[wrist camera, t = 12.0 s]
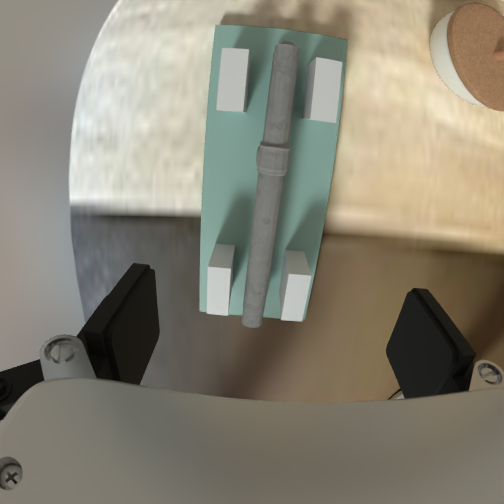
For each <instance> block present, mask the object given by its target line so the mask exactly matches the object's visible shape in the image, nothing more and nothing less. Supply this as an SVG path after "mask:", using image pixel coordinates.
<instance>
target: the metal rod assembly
mask: <svg viewBox="0 0 504 504" xmlns="http://www.w3.org/2000/svg"><path fill="white" fill-rule="evenodd" d="M299 54H300V48H299V47H297V46H296V45H295V44H294V43H293V42H288V41H283V42H281V43H280V44H276V45H275V50H274V53H273V61H272V69H271V77H270V85H269V93H268V101H267V109H266V117H265V125H264V133H263V141H260V146H259V147H258V149H257V155H256V165H257V171H258V178H257V186H256V195H255V204H254V212H253V221H252V230H251V239H250V247H249V256H248V265H247V274H246V282H245V291H244V300H243V313H242V324H243V325H245V326H247V327H251V328H255V327H259V326H261V324H262V320H263V314H264V308H265V302H266V296H267V290H268V283H269V277H270V271H271V265H272V258H273V252H274V246H275V239H276V233H277V226H278V219H279V213H280V206H281V199H282V193H283V186H284V179H285V175H287V174H288V168H289V162H290V150H291V148H289V147H288V145H289V137H290V129H291V121H292V113H293V105H294V97H295V89H296V80H297V72H298V63H299Z"/></svg>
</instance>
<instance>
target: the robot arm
mask: <svg viewBox="0 0 504 504" xmlns="http://www.w3.org/2000/svg"><path fill="white" fill-rule="evenodd" d="M159 332H160V329H159V318H158V307H157V295H156V280H155V271H154V269H150V266H149V265H147V264H138V263H133V264H132V265H131V267H130V268H129V269H128V270H127V272H126V273H125V274H124V275H123V277H122V278H121V279H120V281H119V282H118V283H117V285H116V286H115V287H114V288H113V290H112V291H111V292H110V294H109V295H107V296H106V297H105V298H104V299H103V301H102V302H101V303H100V305H99V306H98V307H97V309H96V310H95V311H94V313H93V314H92V316H91V317H90V318H89V320H88V321H87V322H86V324H85V325H84V327H83V328H82V330H81V331H80V332H79V334H78V335H77V336H72V335H65V334H64V335H57V336H55V337H52V338H50V339H49V340H47V341H46V342H45V343H44V344H43V345H42V347H41V349H40V359H39V360H36V361H33V362H30V363H27V364H23V365H20V366H17V367H14V368H11V369H8V370H5V371H1V372H0V504H504V373H503V371H502V370H501V369H500V368H499V367H498V366H497V365H496V364H494V363H492V362H490V361H487V360H481V361H478V362H476V363H475V365H474V364H473V362H472V361H473V359H474V358H475V356H476V354H475V352H474V351H473V349H472V348H471V346H470V345H469V344H468V342H467V341H466V339H465V338H464V336H463V335H462V334H461V332H460V331H459V330H458V328H457V327H456V325H455V324H454V323H453V321H452V320H451V319H450V317H449V316H448V315H447V313H446V312H445V311H444V310H443V308H442V307H441V306H440V304H439V303H438V302H437V301H436V299H435V298H434V297H433V295H432V294H431V293H430V292H429V290H427V289H421V288H413V289H412V290H411V292H408V293H407V295H406V298H405V301H404V304H403V306H402V309H401V312H400V314H399V317H398V320H397V322H396V325H395V327H394V330H393V332H392V335H391V337H390V340H389V342H388V344H387V348H386V354H387V357H388V359H389V362H390V364H391V366H392V369H393V371H394V374H395V376H396V378H397V381H398V383H399V386H400V388H401V391H399V392H398V393H396V394H395V395H394V396H393V397H392V398H390V399H389V400H378V401H357V402H288V401H267V400H251V399H239V398H228V397H218V396H209V395H201V394H193V393H186V392H179V391H173V390H166V389H160V388H155V387H148V386H142V385H140V383H141V380H142V378H143V375H144V373H145V370H146V368H147V365H148V363H149V360H150V358H151V355H152V353H153V351H154V348H155V346H156V343H157V341H158V338H159Z"/></svg>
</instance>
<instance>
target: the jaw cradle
mask: <svg viewBox="0 0 504 504" xmlns="http://www.w3.org/2000/svg"><path fill="white" fill-rule="evenodd" d="M283 41H288V42H293V43H294V44H295V45H296V46H297V47H299V48H300V54H299V63H298V72H297V80H296V89H295V97H294V105H293V113H292V121H291V129H290V137H289V145H288V147H289V148H291V150H290V162H289V168H288V174H287V175H285V179H284V186H283V193H282V199H281V206H280V213H279V219H278V226H277V233H276V239H275V246H274V252H273V258H272V265H271V271H270V277H269V283H268V290H267V296H266V302H265V308H264V314H263V317H267V318H281V320H287V321H302V320H305V316H306V312H307V307H308V303H309V298H310V294H311V289H312V284H313V279H314V274H315V269H316V264H317V259H318V254H319V249H320V243H321V238H322V233H323V227H324V221H325V216H326V210H327V204H328V198H329V191H330V185H331V179H332V172H333V165H334V158H335V151H336V144H337V136H338V128H339V120H340V112H341V103H342V93H343V84H344V73H345V62H346V50H347V40H345V39H340V38H336V37H331V36H325V35H320V34H314V33H308V32H301V31H294V30H286V29H277V28H267V27H255V26H238V25H216V26H215V34H214V43H213V53H212V62H211V72H210V83H209V95H208V107H207V120H206V134H205V149H204V167H203V187H202V211H201V244H200V311H203V312H207V314H216V315H226V316H228V314H232V315H242V313H243V300H244V291H245V282H246V274H247V265H248V256H249V247H250V239H251V230H252V221H253V212H254V204H255V195H256V186H257V178H258V171H257V165H256V155H257V149H258V147H259V146H260V141H263V133H264V125H265V117H266V109H267V101H268V93H269V85H270V77H271V69H272V61H273V53H274V50H275V45H276V44H280V43H281V42H283Z"/></svg>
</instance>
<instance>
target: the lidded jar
mask: <svg viewBox="0 0 504 504" xmlns="http://www.w3.org/2000/svg"><path fill="white" fill-rule="evenodd" d="M430 55H431V60H432V63H433V66H434V69H435V71H436V73H437V74H438V76H439V78H440V79H441V81H442V82H443V83H444V85H445V86H446V87H447V88H448V89H449V90H450V91H451V92H452V93H453V94H455V95H456V96H458V97H459V98H460V99H462V100H464V101H466V102H468V103H470V104H473V105H476V106H480V107H483V108H490V109H493V110H497V111H504V17H503V16H502V15H501V14H500V13H498V12H497V11H495V10H494V9H492V8H490V7H488V6H486V5H483V4H480V3H468V4H465V5H463V6H461V7H459V8H457V9H456V10H454V11H452V12H450V13H448V14H447V15H445V16H444V17H443V18H442V19H441V20H440V21H439V22H438V23H437V24H436V26H435V27H434V30H433V32H432V34H431V38H430Z"/></svg>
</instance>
